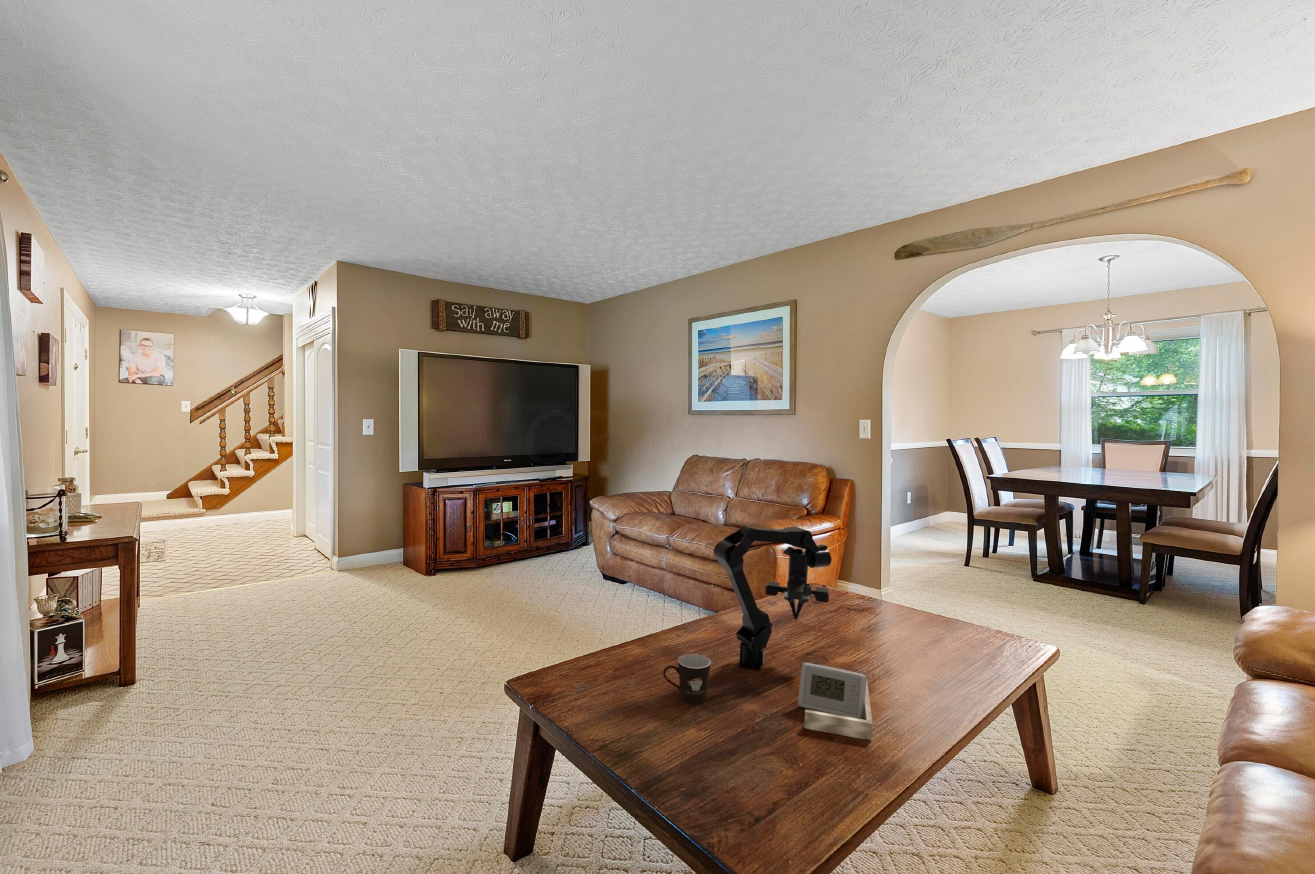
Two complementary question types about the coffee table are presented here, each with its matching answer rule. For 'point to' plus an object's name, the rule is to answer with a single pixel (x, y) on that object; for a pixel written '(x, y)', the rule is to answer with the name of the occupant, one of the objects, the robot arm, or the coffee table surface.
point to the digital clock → (832, 690)
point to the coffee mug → (692, 677)
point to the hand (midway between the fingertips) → (795, 619)
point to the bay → (842, 722)
